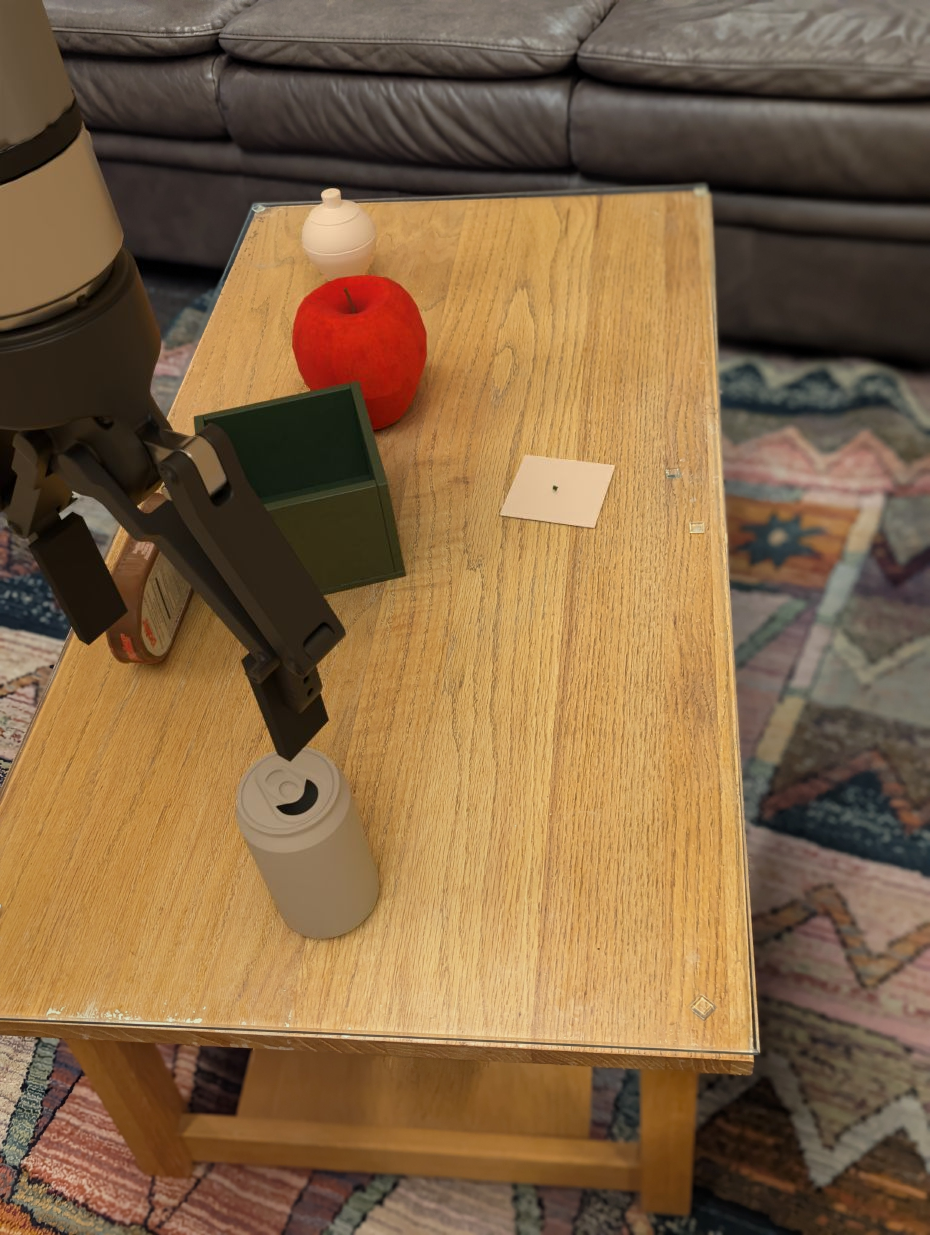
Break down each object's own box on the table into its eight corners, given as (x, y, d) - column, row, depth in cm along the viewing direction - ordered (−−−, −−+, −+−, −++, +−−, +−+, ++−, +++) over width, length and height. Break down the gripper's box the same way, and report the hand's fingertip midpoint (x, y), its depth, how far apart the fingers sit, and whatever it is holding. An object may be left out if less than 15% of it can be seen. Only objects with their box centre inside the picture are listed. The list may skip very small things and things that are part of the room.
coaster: (615, 465, 92) (615, 458, 91) (594, 528, 87) (594, 520, 86) (524, 454, 94) (524, 447, 93) (499, 515, 89) (498, 507, 88)
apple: (393, 363, 106) (370, 236, 96) (463, 416, 99) (447, 284, 89) (289, 414, 102) (255, 287, 92) (355, 473, 95) (326, 342, 85)
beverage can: (327, 965, 64) (281, 861, 55) (258, 902, 67) (205, 795, 58) (402, 890, 67) (370, 780, 58) (333, 833, 70) (293, 720, 61)
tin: (180, 547, 90) (149, 469, 84) (216, 547, 90) (188, 469, 84) (125, 687, 80) (84, 610, 74) (165, 688, 80) (128, 610, 74)
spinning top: (397, 306, 113) (379, 196, 104) (328, 328, 111) (304, 218, 103) (373, 274, 118) (354, 166, 109) (307, 294, 116) (282, 187, 108)
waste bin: (236, 615, 84) (202, 524, 77) (224, 506, 94) (193, 416, 87) (406, 576, 85) (387, 482, 78) (377, 471, 95) (358, 380, 88)
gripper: (377, 308, 32) (454, 732, 48) (-101, 162, 44) (86, 543, 59) (202, 447, 28) (347, 859, 44) (-272, 247, 40) (-24, 631, 55)
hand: (198, 678), depth 52 cm, fingers open, 13 cm apart
